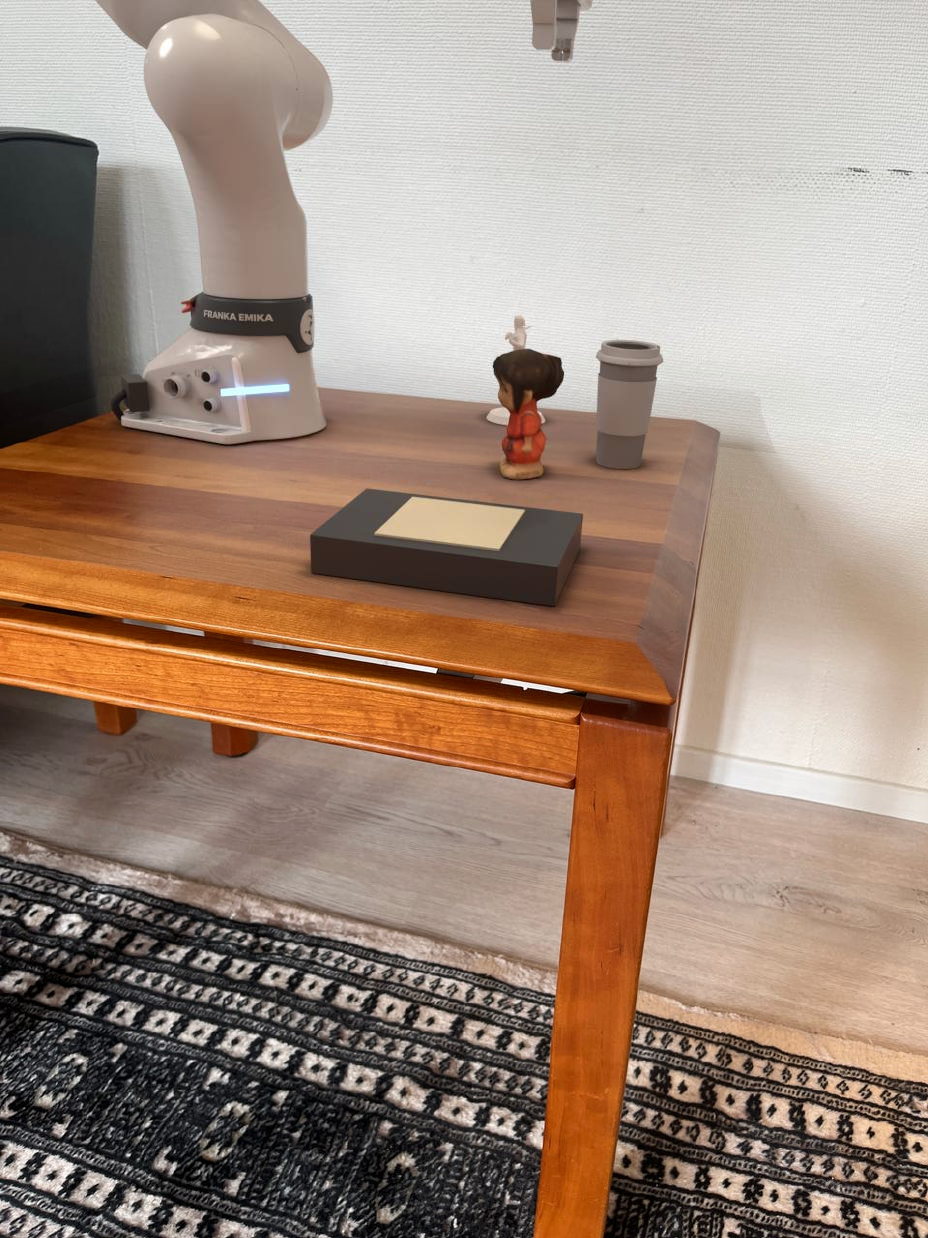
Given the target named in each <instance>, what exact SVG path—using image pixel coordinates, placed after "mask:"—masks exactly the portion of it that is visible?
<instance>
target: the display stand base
mask: <svg viewBox="0 0 928 1238" xmlns="http://www.w3.org/2000/svg"><path fill="white" fill-rule="evenodd" d="M583 521H584V514H583V513H581V512H573V511H563V510H555V509H548V508H547V509H546V508H539V507H538V508H537V507H528V506H520V505H513V504H502V503H496V502H488V501H487V502H486V501H479V500H469V499H463V498H462V499H461V498H460V499H459V498H453V497H443V496H434V495H428V494H427V495H426V494H425V495H424V494H419V493H418V494H417V493H410V492H400V491H393V490H384V489H375V488H365V489H364V490H363V491H361V492H360V493H359V494H358V495H357V496H356V497H354V498H352V500H350V502H348V503H347V504H346V505H345V506H343V507H342V508H341V509H339V510H338V511H337V512H336V513H334V515H332V516H331V517H329V518H328V519H327V520H326V521H325V522H324V523H323V524H321V525H320V526H319V527H317V528H316V529H315V530H314V531H312V532H311V533H310V535H309V546H310V548H309V549H310V573H311V574H315V575H316V574H317V575H323V576H324V575H325V576H331V577H339V578H345V579H353V580H359V581H366V582H367V581H368V582H375V583H381V584H388V585H394V586H395V585H396V586H403V587H410V588H418V589H424V590H434V591H439V592H446V593H453V594H461V595H467V596H468V595H469V596H476V597H483V598H490V599H498V600H505V601H511V602H517V603H518V602H520V603H526V604H533V605H541V606H549V607H555V606H556V604H557V601H558V600H559V598H560V595H561V593H562V590H563V588H564V586H565V583H566V582H567V579H568V577H569V575H570V573H571V570H572V568H573V565H574V563H575V562H576V559H577V557H578V554H579V552H580V550H581V544H582V543H581V542H582V531H583Z"/></svg>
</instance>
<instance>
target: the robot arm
mask: <svg viewBox="0 0 928 1238" xmlns="http://www.w3.org/2000/svg"><path fill="white" fill-rule="evenodd" d="M94 1H95V2H96V3H97V4H98V6H99V7H100V8H101V9H102V10H103V11H104V13H105V14H106V15H107V16H108V17H109V18H110V19H111V20H112V22H114V24H115V25H116V26H117V28H119V30H120V31H121V32H122V33H123V35H125V36H127V37H128V39H130V40H131V41H133V42H134V43H136V45H138V46H140V47H142V48H144V49H145V50H146V52H145V56H144V61H143V81H144V87H145V88H144V89H145V91H146V95H147V98H148V100H149V103H150V105H151V107H152V109H153V111H154V113H156V115H157V117H158V118H159V119H160V120H161V122H162V123H163V125H165V127H166V128H167V130H168V131H169V133H170V135H171V137H172V139H173V142H174V144H175V146H176V150H177V152H178V155H179V158H180V160H181V164H182V167H183V170H184V173H185V176H186V180H187V183H188V186H189V189H190V190H189V191H190V194H191V197H192V201H193V207H194V210H195V216H196V222H197V223H196V224H197V233H198V244H199V256H200V269H201V279H202V280H201V281H202V291H201V292H199V293H198V294H195V295H194V296H193V297H192V298H190V299H189V300H184V301H181V302H180V305H185V307H183V308H182V309H181V313H182V314H186V313H190V321H189V326H190V327H189V328H188V329H187V330H186V331H185V332H183V333H182V334H181V335H180V336H179V337H177V338H176V339H175V340H174V341H172V342H171V343H170V344H169V345H168V346H166V347H165V348H164V349H163V350H162V351H161V352H160V353H158V354H157V355H156V356H154V357H153V358H152V359H151V360H149V362H148V363H147V364H146V366H145V367H144V370H143V372H142V376H141V374H139V373H130V374H121V375H120V380H121V381H120V382H121V389H120V391H119V392H118V393H116V394H115V395H114V396H113V397H112V398H111V401H110V409H111V411H112V412H113V414H114V415H115V417H116V418H117V420H118V421H120V423H121V424H120V425H121V426H122V427H127V428H131V429H132V428H133V429H137V430H143V431H148V432H154V433H159V434H165V435H171V436H175V437H176V436H177V437H181V438H187V439H194V440H198V441H204V442H209V443H210V442H211V443H217V444H221V445H222V444H223V445H233V444H241V443H247V442H248V443H249V442H254V441H266V440H267V441H268V440H280V439H282V440H283V439H290V438H297V437H303V436H307V435H310V434H313V433H317V432H319V431H321V430H323V429H325V427H327V424H328V422H327V420H326V417H325V414H324V409H323V407H322V403H321V399H320V395H319V390H318V384H317V379H316V373H315V364H314V357H313V349H314V347H315V345H314V343H315V332H316V331H315V330H316V329H315V328H316V327H315V324H316V323H315V315H314V301H313V295H312V294H310V291H309V264H308V263H309V256H308V255H309V253H308V252H309V251H308V223H307V217H306V213H305V211H304V209H303V207H302V205H301V204H300V203H299V201H298V199H297V197H296V194H295V191H294V188H293V185H292V181H291V177H290V173H289V169H288V165H287V161H286V156H285V152H287V151H290V150H293V149H296V148H298V147H300V146H303V145H305V144H306V143H309V142H310V141H312V140H314V139H315V138H316V137H317V136H318V135H320V134H321V132H322V131H323V130H324V129H325V127H326V126H327V124H328V121H330V120H329V119H330V118H331V117H330V116H331V114H332V110H333V103H334V101H333V100H334V96H333V95H334V94H333V93H334V91H333V85H332V82H331V78H330V76H329V73H328V72H327V71H328V70H327V69H326V68H325V65H324V64H323V63H322V61H321V60H320V59H319V58H318V57H317V56H316V55H315V54H314V53H313V52H312V51H311V50H310V49H309V48H307V47H306V46H305V45H304V44H303V43H302V42H301V41H300V40H299V39H298V38H297V37H296V36H294V34H293V33H292V32H291V31H289V29H288V28H287V27H286V26H285V25H284V24H283V23H282V22H281V21H280V20H279V19H278V18H277V17H276V15H274V14H273V13H272V12H271V11H270V10H269V9H268V8H267V7H266V6H265V5H264V4H263V3H262V2H261V1H260V0H94ZM529 2H530V11H531V22H532V34H531V45H532V48H534V49H535V50H537V51H543V52H545V51H546V52H551V53H550V55H551V59H552V60H553V61H554V62H556V63H559V64H560V63H561V64H562V63H564V64H566V63H567V64H569V63H570V62H572V61H573V58H574V49H575V48H574V47H575V40H576V35H577V30H578V27H579V22H580V11H589V10H590V9H591V8H592V6H593V2H594V0H530V1H529ZM121 402H123V404H124V405H125V407H126V409H125V410H124V411H123V410H122V409H121V407H120V404H121Z"/></svg>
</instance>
